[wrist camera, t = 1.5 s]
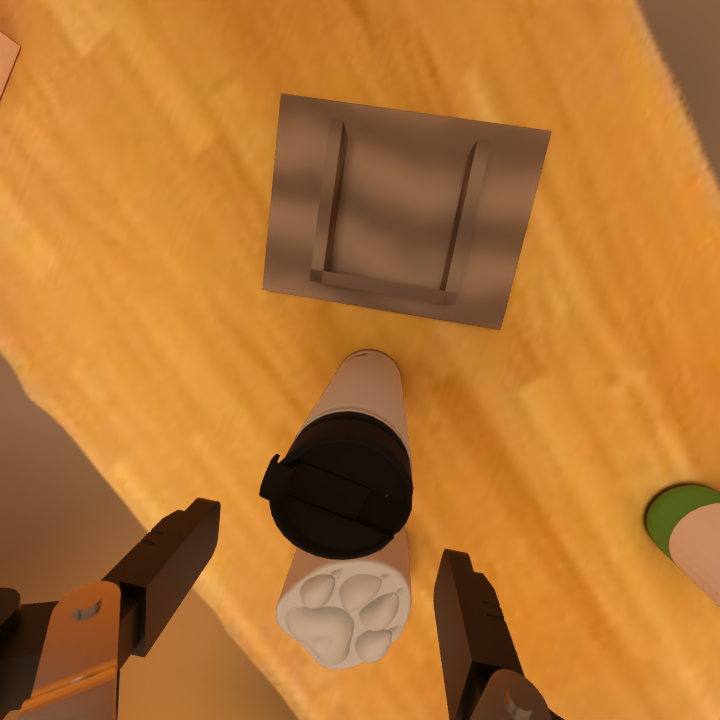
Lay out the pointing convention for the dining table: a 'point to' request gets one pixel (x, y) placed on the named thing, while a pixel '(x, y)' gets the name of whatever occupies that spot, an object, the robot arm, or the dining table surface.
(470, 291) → the plate
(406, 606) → the lumpy-topped squat cylinder
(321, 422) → the travel mug
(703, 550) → the wine bottle
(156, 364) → the dining table surface
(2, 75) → the milk
